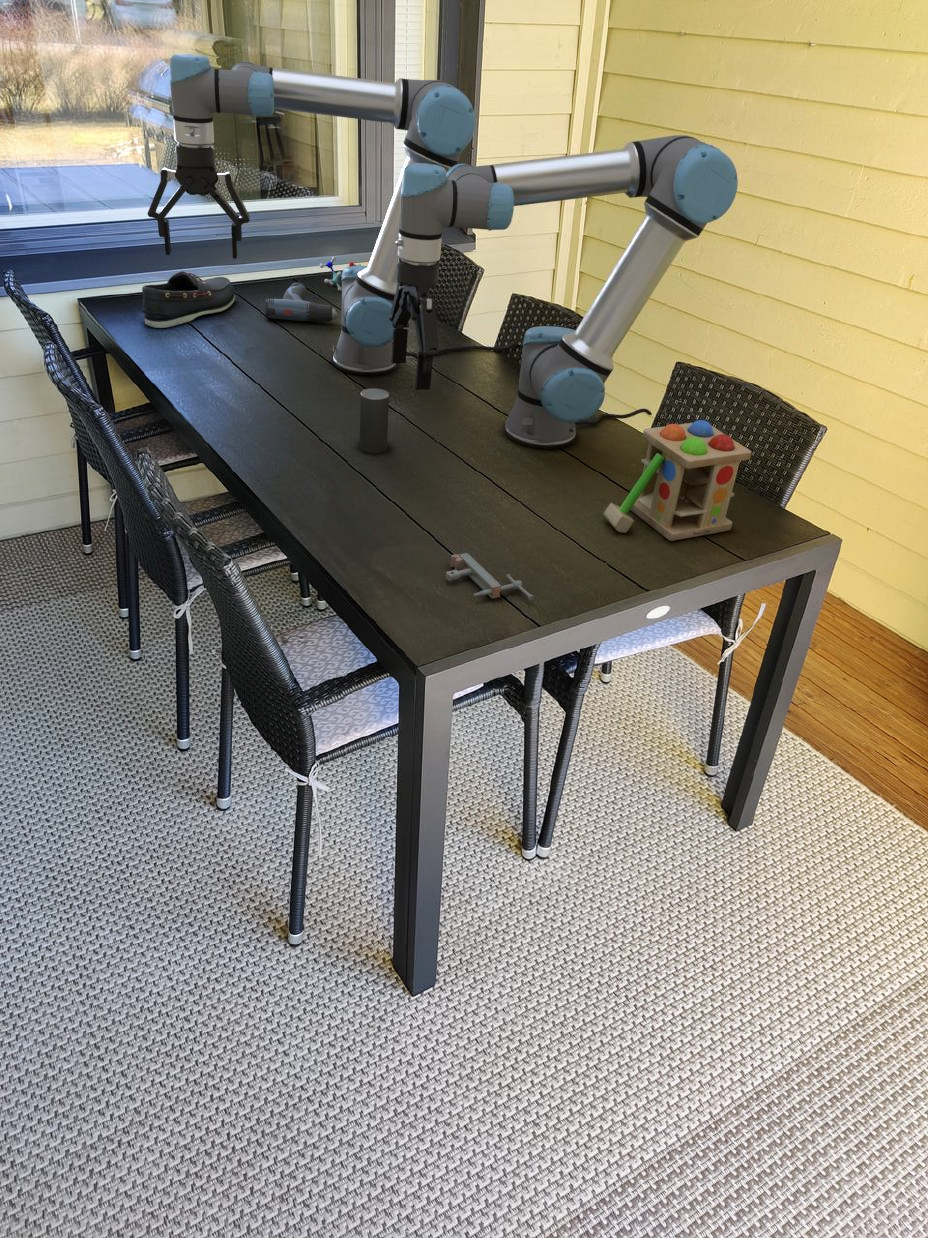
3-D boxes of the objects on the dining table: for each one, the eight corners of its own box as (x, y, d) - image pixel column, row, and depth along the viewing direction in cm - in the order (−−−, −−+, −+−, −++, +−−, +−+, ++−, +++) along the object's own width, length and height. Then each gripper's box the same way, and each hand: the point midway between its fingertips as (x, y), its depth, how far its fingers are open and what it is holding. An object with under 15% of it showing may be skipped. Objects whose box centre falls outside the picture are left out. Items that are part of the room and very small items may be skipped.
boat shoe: (253, 306, 269) (251, 267, 264) (162, 330, 245) (157, 287, 240) (219, 297, 275) (216, 259, 269) (126, 320, 251) (121, 278, 245)
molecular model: (352, 283, 281) (340, 248, 280) (324, 295, 285) (312, 261, 283) (368, 285, 291) (357, 252, 290) (341, 297, 295) (330, 265, 294)
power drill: (344, 304, 276) (335, 327, 259) (277, 298, 275) (264, 321, 258) (344, 285, 273) (335, 306, 256) (277, 279, 272) (264, 300, 255)
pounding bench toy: (630, 549, 173) (650, 456, 163) (588, 512, 183) (603, 423, 173) (732, 530, 182) (756, 441, 172) (686, 496, 193) (706, 410, 183)
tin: (392, 449, 200) (395, 395, 193) (371, 456, 196) (372, 401, 190) (375, 439, 203) (376, 386, 196) (353, 446, 199) (354, 391, 193)
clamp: (435, 558, 161) (487, 546, 165) (434, 569, 162) (486, 557, 167) (482, 605, 150) (536, 591, 155) (480, 617, 152) (534, 603, 156)
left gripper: (126, 142, 189) (137, 256, 201) (258, 151, 193) (261, 262, 204) (132, 136, 195) (143, 246, 207) (260, 145, 199) (263, 253, 211)
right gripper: (376, 241, 181) (371, 353, 193) (422, 280, 163) (413, 401, 175) (414, 241, 184) (407, 351, 196) (464, 280, 165) (452, 399, 177)
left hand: (201, 255), depth 206 cm, fingers open, 13 cm apart
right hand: (410, 375), depth 185 cm, fingers open, 13 cm apart
